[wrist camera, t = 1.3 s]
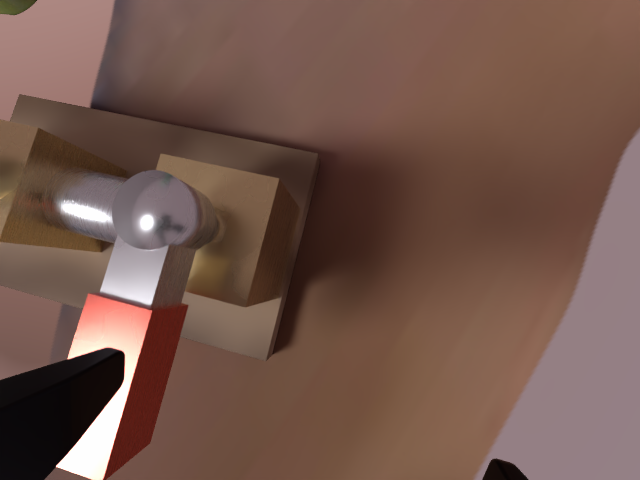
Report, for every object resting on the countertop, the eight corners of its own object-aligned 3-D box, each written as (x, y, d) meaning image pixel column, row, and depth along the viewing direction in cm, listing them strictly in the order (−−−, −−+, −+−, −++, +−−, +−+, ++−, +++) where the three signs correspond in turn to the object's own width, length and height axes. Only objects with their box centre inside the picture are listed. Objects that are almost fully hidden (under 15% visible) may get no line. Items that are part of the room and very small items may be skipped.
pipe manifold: (278, 298, 19) (205, 318, 9) (-38, 216, 22) (-343, 167, 12) (300, 209, 19) (253, 142, 10) (-11, 140, 22) (-282, 35, 13)
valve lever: (163, 182, 12) (123, 162, 10) (224, 196, 12) (196, 177, 10) (91, 423, 11) (30, 457, 9) (155, 444, 11) (108, 484, 9)
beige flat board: (272, 354, 20) (265, 361, 18) (-19, 273, 23) (-45, 272, 21) (320, 162, 21) (318, 153, 20) (40, 105, 24) (19, 94, 22)
